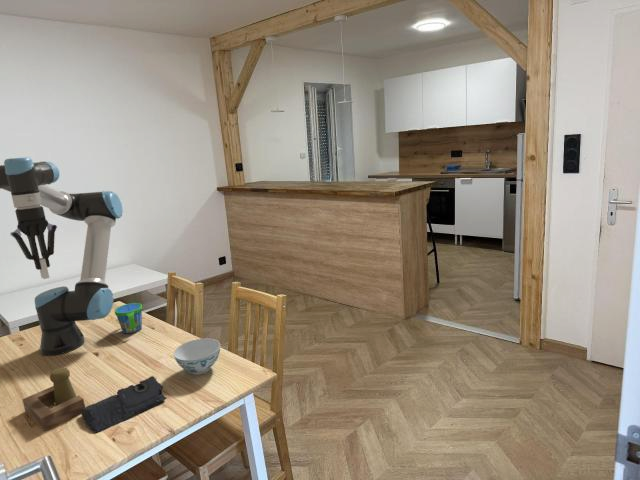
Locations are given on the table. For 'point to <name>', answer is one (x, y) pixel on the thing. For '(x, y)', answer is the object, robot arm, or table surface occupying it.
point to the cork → (62, 385)
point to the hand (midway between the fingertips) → (45, 277)
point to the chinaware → (197, 355)
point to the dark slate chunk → (123, 405)
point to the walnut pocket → (55, 415)
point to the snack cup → (130, 317)
